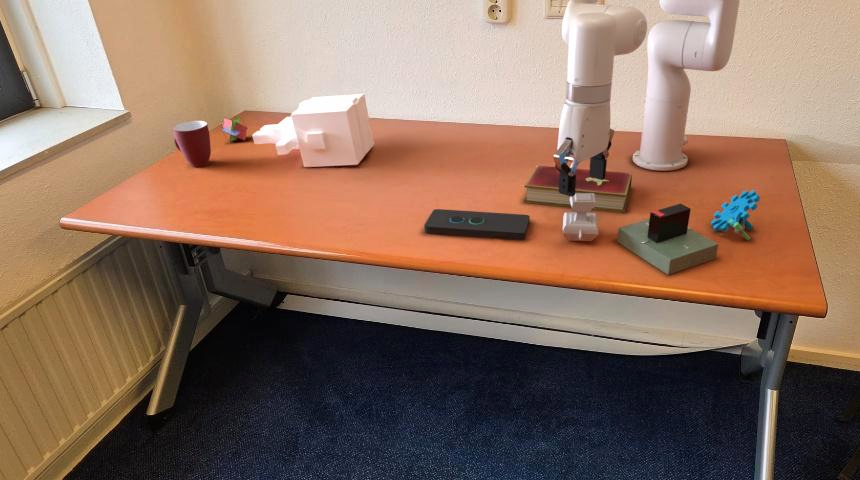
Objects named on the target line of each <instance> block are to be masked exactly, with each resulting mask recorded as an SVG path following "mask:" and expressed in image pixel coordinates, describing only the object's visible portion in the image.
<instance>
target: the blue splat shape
mask: <svg viewBox="0 0 860 480" xmlns="http://www.w3.org/2000/svg"><path fill="white" fill-rule="evenodd" d="M730 200H731V201H730V203H728V202H727V201H725V202H724V203H722V204H721V205H720V207H721V208H722V209H723V211H722V212H720V210H717V211H715V213H714V214H713V217H714V219H712V220H711V223H710V225H711V226H712V227H713V229H714V230H715V231H716V232H719V231H722V232H727V231H728V230H729V228H730V227H732V228H734V233H736V234H738V235H741V236H742V237H743V238H744V239H745V240H746V241H750V239H751V237H750V236H749V234H748V233H747V232H745V227H746V229H747V230H748V231H751V230H752V229H754V225H753V224H752V223H751V222H750V221H749V220H748V219H749V218H750V217H751V215H750V214H749V212H748V211H749V210H751V211H753V212H754V211H755V210H756V209H757V208H758V207H759V205H758V204H757V203H758V202H759V201H760V200H761V196H760V195H759V194H758V193H757V192H756V191H755V189H752V190H750V191H748V190H743V191H742V192H741V193H740V195H738V194H735V195H732V196H731V197H730Z"/></svg>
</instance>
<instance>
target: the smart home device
mask: <svg viewBox="0 0 860 480" xmlns="http://www.w3.org/2000/svg"><path fill="white" fill-rule="evenodd" d="M530 223H531V216H530V215H529V214H519V213H506V212H505V213H504V212H491V211H475V210H473V211H472V210H461V209H460V210H458V209H457V210H456V209H445V208H444V209H443V208H442V209H441V208H435V209H433V210H432V211H431V213H430V215H429V216H428V218H427V220H426V221H425V223H424V225H423V226H424V227H423V228H424V233H425V234H430V235H441V236H442V235H444V236H456V237H469V238H470V237H471V238H484V239H485V238H486V239H497V240H498V239H499V240H510V241H512V240H513V241H524V240H525V239H526V236H527V233H528V230H529V226H530Z"/></svg>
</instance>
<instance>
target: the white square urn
mask: <svg viewBox="0 0 860 480" xmlns="http://www.w3.org/2000/svg"><path fill="white" fill-rule="evenodd" d="M570 203H571V206H572V207H571V211H572V212H571V211H570V212H569V211H567V212H564V214H563V217H562V235H563V236H564V237H565V238H566V239H567V241H572V242H573V241H574V242H575V241H576V242H577V241H578V242H592V241H593V240H594V239H595V238H596V237H598V236H599V220H598V214H597V213H596V212H592V210H593V209H592V208H594V207H595V196H594V193H575V196H573V197H570Z"/></svg>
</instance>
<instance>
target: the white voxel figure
mask: <svg viewBox="0 0 860 480" xmlns="http://www.w3.org/2000/svg"><path fill="white" fill-rule="evenodd" d="M251 136H252V140H253V143H254V145H266V144H275V145H274V146H275V151H276V153H277V156H282V155H289V153H290V152H291V151H293V150H299V153H300V157H301V161H302V164H303V168H312V167H313V168H314V167H315V168H317V167H318V168H319V167H335V166H336V167H337V166H338V167H339V166H357V165H359V164H360V162H361V161H362V160H364V157H366V155H367V154H368V152H369V151H370V150H371V149H372V147H373V146H374V145H375V143H374V137H373V132H372V126H371V122H370V117H369V111H368V106H367V101H366V95H365V93H354V94H341V95H325V96H312V97H310V98H309V99H307V100H302V101H300V103H298V108H297V109H296V110H294V111H293V112H292V113H291V114H290V116H286V117H284V119H282V120H281V121H280V122H278V124H277V123H276V124H265V125H263V126H262V127H260V129H259V130H257V131H255V132H254V133H253V134H252V135H251Z"/></svg>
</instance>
